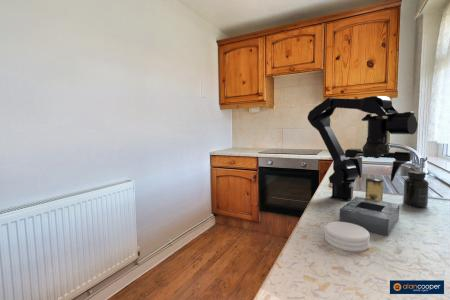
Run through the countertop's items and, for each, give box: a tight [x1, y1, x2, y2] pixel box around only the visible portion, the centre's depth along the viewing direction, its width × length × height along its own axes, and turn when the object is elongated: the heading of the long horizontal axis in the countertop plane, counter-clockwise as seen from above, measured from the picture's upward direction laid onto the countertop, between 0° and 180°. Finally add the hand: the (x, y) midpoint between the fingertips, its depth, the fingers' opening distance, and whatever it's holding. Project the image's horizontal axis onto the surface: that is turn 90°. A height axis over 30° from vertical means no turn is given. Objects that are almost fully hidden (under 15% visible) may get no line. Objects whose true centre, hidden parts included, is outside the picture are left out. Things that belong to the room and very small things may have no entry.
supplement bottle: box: [402, 170, 430, 209], centre depth 83 cm, size 7×7×12 cm
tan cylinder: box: [364, 177, 384, 201], centre depth 82 cm, size 5×5×10 cm
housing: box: [338, 196, 401, 237], centre depth 71 cm, size 12×16×4 cm
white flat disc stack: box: [324, 221, 371, 253], centre depth 59 cm, size 10×10×4 cm
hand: (375, 179), depth 81 cm, fingers open, 9 cm apart
